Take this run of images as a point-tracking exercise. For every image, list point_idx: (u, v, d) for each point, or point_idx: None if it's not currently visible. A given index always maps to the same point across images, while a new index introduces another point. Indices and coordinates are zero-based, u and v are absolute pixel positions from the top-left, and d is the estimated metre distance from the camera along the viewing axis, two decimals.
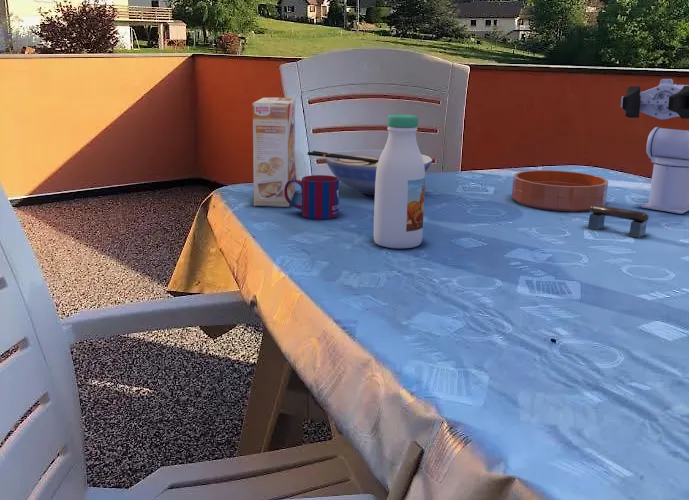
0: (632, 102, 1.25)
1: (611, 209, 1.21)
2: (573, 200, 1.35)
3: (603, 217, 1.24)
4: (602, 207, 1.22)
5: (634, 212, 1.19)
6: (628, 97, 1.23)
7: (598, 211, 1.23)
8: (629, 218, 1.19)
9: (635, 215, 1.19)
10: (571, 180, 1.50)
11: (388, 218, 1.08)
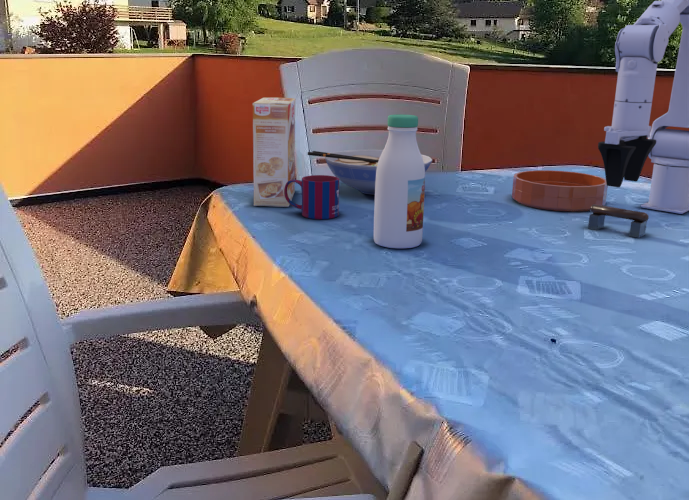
0: (633, 162, 1.21)
1: (611, 209, 1.21)
2: (573, 200, 1.35)
3: (603, 217, 1.24)
4: (602, 207, 1.22)
5: (634, 212, 1.19)
6: (625, 176, 1.23)
7: (598, 211, 1.23)
8: (629, 218, 1.19)
9: (635, 215, 1.19)
10: (571, 180, 1.50)
11: (388, 218, 1.08)
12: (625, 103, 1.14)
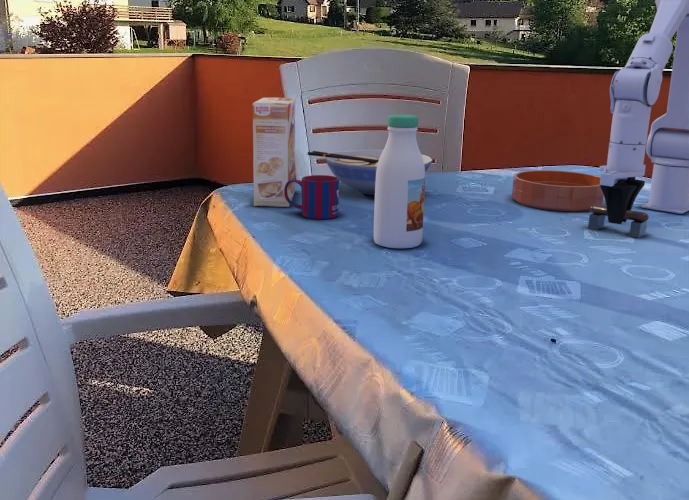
0: None
1: None
2: (573, 200, 1.35)
3: (603, 217, 1.24)
4: (602, 207, 1.22)
5: (634, 212, 1.19)
6: None
7: (598, 211, 1.23)
8: (629, 218, 1.19)
9: (635, 215, 1.19)
10: (571, 180, 1.50)
11: (388, 218, 1.08)
12: (620, 145, 1.16)
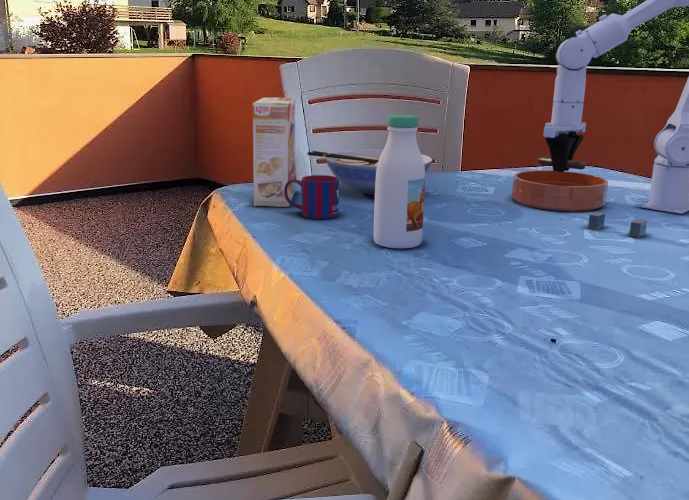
0: None
1: None
2: (573, 200, 1.35)
3: (603, 217, 1.24)
4: (548, 158, 1.43)
5: (574, 161, 1.40)
6: None
7: (545, 162, 1.43)
8: (570, 166, 1.40)
9: (574, 164, 1.39)
10: (571, 180, 1.50)
11: (388, 218, 1.08)
12: (561, 103, 1.37)
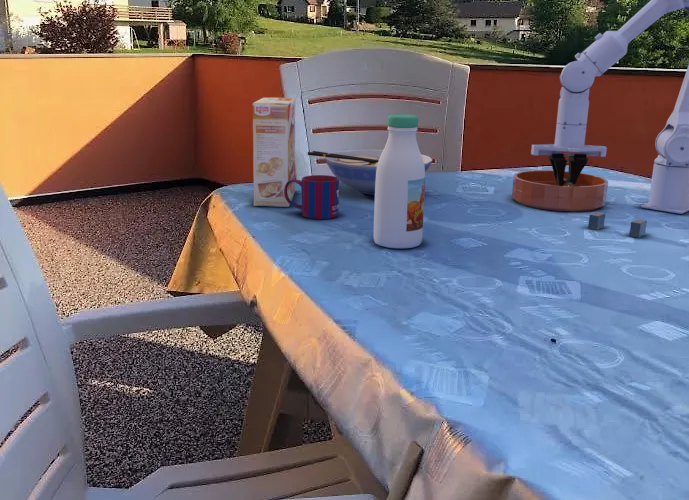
0: None
1: None
2: (573, 200, 1.35)
3: (603, 217, 1.24)
4: None
5: None
6: None
7: None
8: None
9: None
10: None
11: (388, 218, 1.08)
12: (586, 125, 1.40)
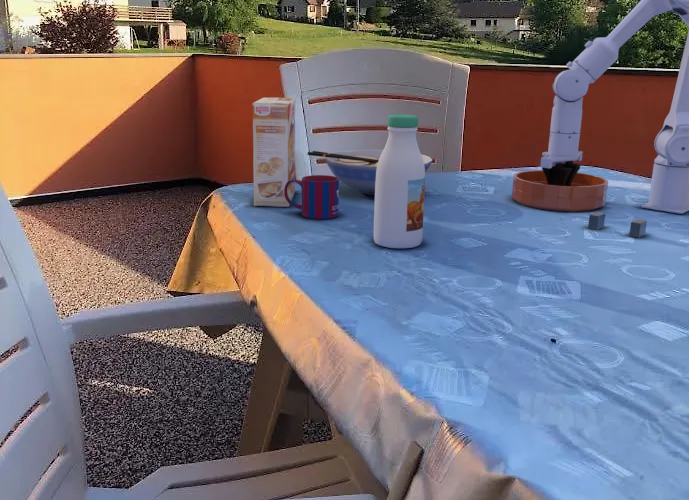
0: None
1: None
2: (573, 200, 1.35)
3: (603, 217, 1.24)
4: None
5: None
6: None
7: None
8: None
9: None
10: None
11: (388, 218, 1.08)
12: (557, 134, 1.38)
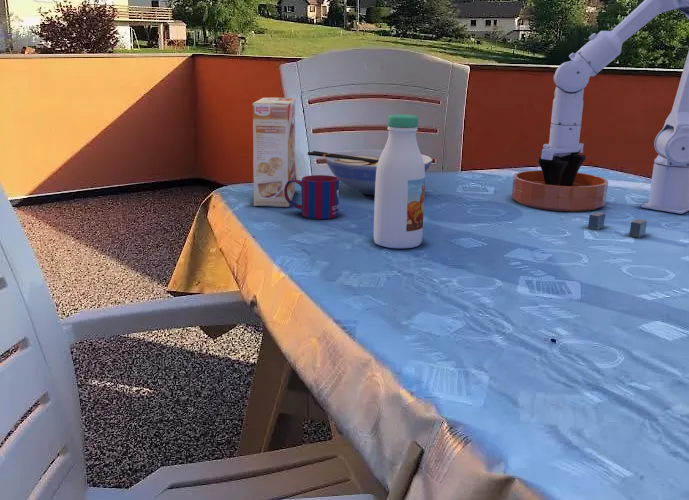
0: (566, 174, 1.45)
1: None
2: (573, 200, 1.35)
3: (603, 217, 1.24)
4: None
5: None
6: (561, 185, 1.46)
7: None
8: None
9: None
10: None
11: (388, 218, 1.08)
12: (558, 125, 1.38)
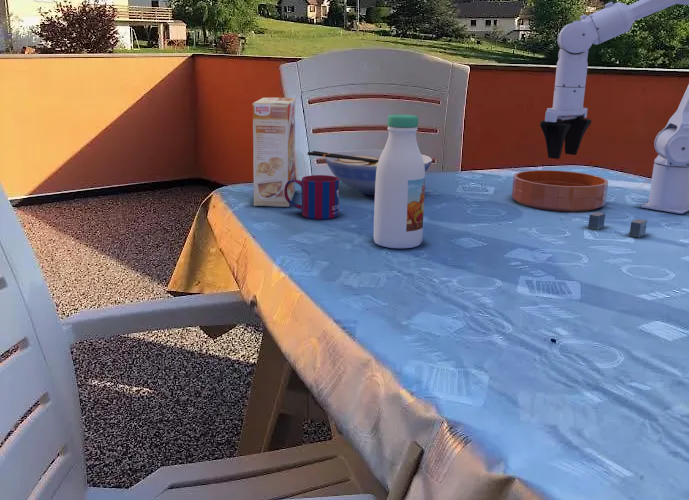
0: (572, 138, 1.43)
1: None
2: (573, 200, 1.35)
3: (603, 217, 1.24)
4: None
5: None
6: (566, 150, 1.45)
7: None
8: None
9: None
10: (571, 180, 1.50)
11: (388, 218, 1.08)
12: (562, 88, 1.36)
